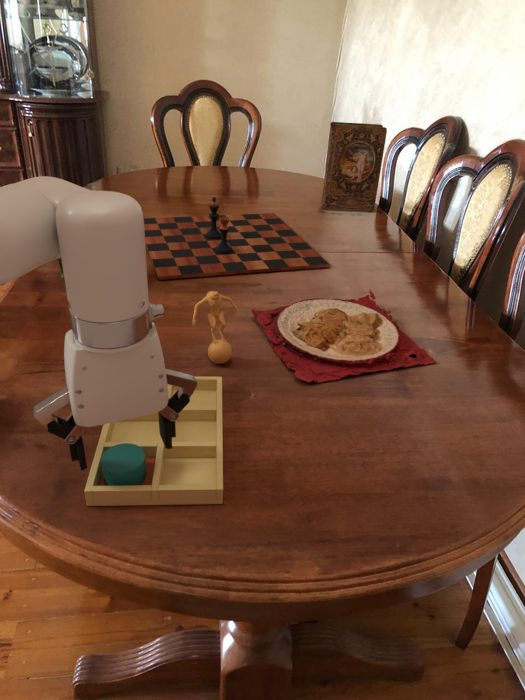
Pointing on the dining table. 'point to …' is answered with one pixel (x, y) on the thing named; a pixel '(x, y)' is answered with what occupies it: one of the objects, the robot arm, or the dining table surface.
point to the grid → (169, 454)
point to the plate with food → (338, 338)
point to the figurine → (218, 348)
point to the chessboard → (225, 245)
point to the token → (124, 465)
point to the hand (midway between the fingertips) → (125, 451)
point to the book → (353, 166)
